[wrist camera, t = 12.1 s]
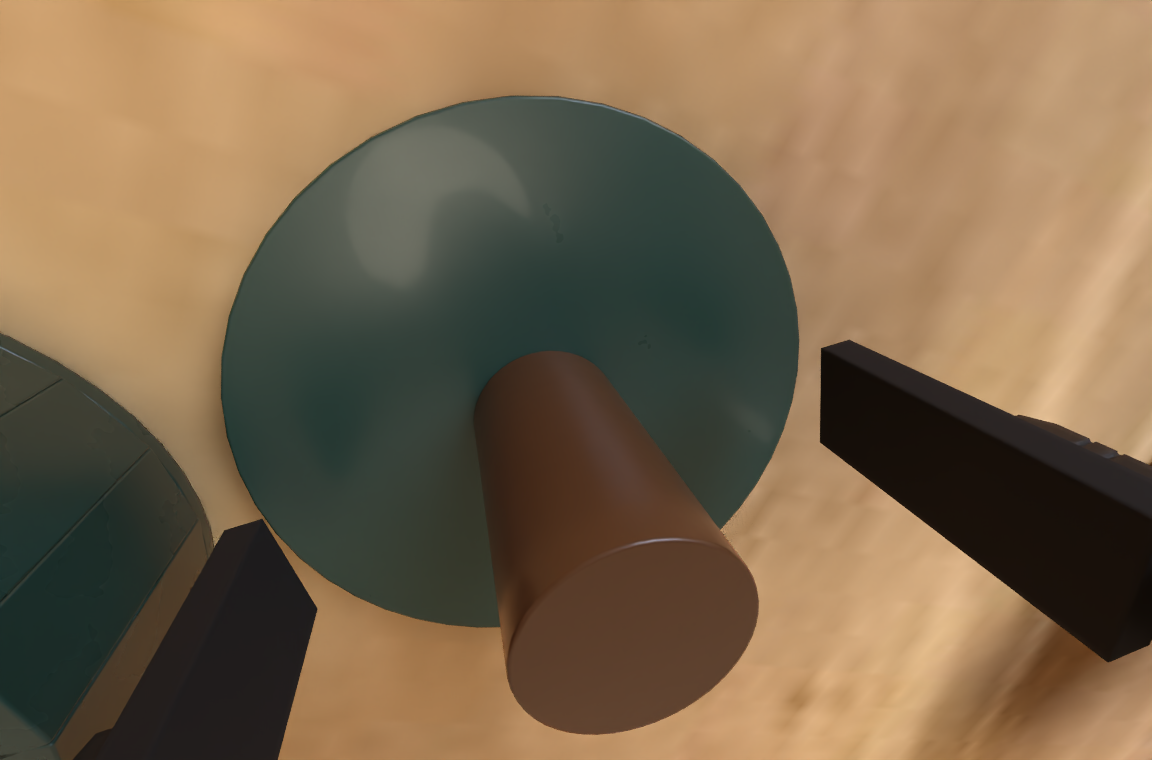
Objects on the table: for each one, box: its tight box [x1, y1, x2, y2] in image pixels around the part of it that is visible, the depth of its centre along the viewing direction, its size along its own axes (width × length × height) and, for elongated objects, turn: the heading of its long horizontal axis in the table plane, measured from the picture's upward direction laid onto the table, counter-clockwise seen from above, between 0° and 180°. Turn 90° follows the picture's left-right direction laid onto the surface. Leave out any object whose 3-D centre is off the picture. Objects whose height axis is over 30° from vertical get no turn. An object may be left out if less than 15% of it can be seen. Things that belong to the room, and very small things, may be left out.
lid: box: [221, 96, 799, 735], centre depth 12 cm, size 16×16×9 cm
